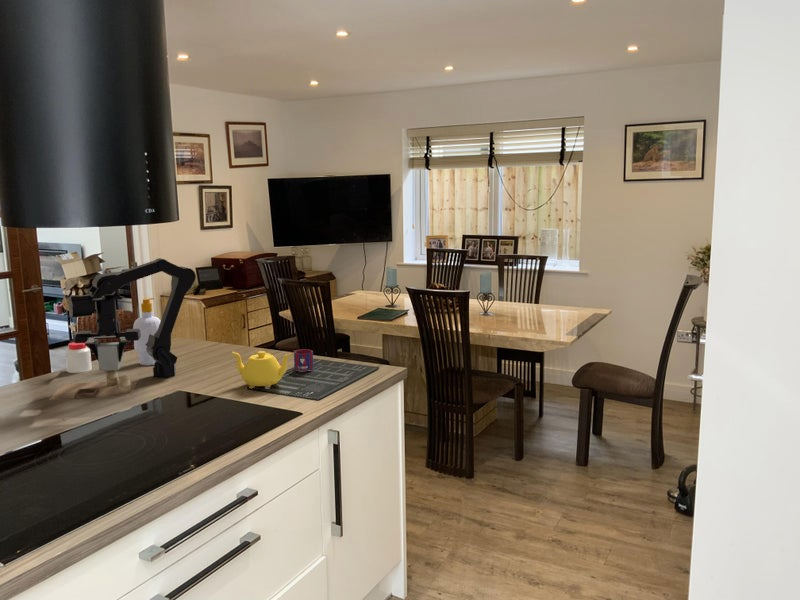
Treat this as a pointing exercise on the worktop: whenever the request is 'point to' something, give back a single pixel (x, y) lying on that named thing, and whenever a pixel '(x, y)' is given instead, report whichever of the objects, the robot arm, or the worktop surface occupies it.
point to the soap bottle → (145, 332)
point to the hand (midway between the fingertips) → (110, 361)
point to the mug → (303, 360)
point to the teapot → (261, 369)
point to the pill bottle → (78, 358)
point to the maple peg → (124, 384)
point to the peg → (111, 377)
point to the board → (89, 390)
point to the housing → (108, 356)
